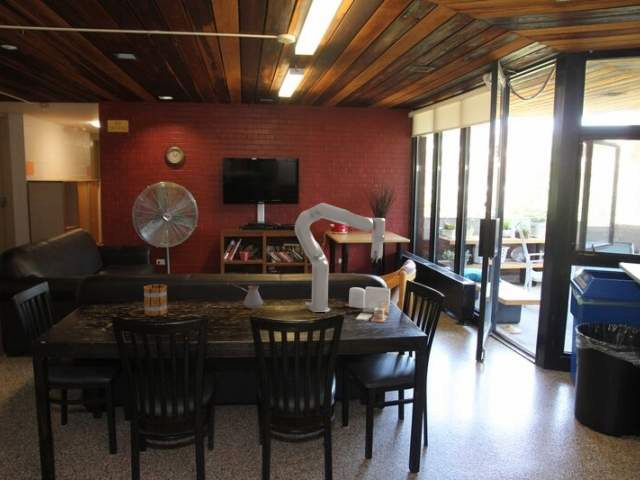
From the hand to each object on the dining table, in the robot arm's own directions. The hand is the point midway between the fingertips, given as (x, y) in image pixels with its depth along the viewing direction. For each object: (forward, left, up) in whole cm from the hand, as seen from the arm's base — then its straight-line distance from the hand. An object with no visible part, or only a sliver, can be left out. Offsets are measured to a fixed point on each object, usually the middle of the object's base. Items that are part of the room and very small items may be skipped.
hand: (376, 267), depth 292 cm
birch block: (+5, -16, -26) cm, 31 cm away
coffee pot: (-75, -21, -27) cm, 83 cm away
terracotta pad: (+6, -16, -26) cm, 31 cm away
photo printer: (-12, +5, -27) cm, 30 cm away
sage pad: (-3, -16, -26) cm, 31 cm away
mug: (-117, -48, -27) cm, 130 cm away
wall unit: (+2, -2, -26) cm, 27 cm away
